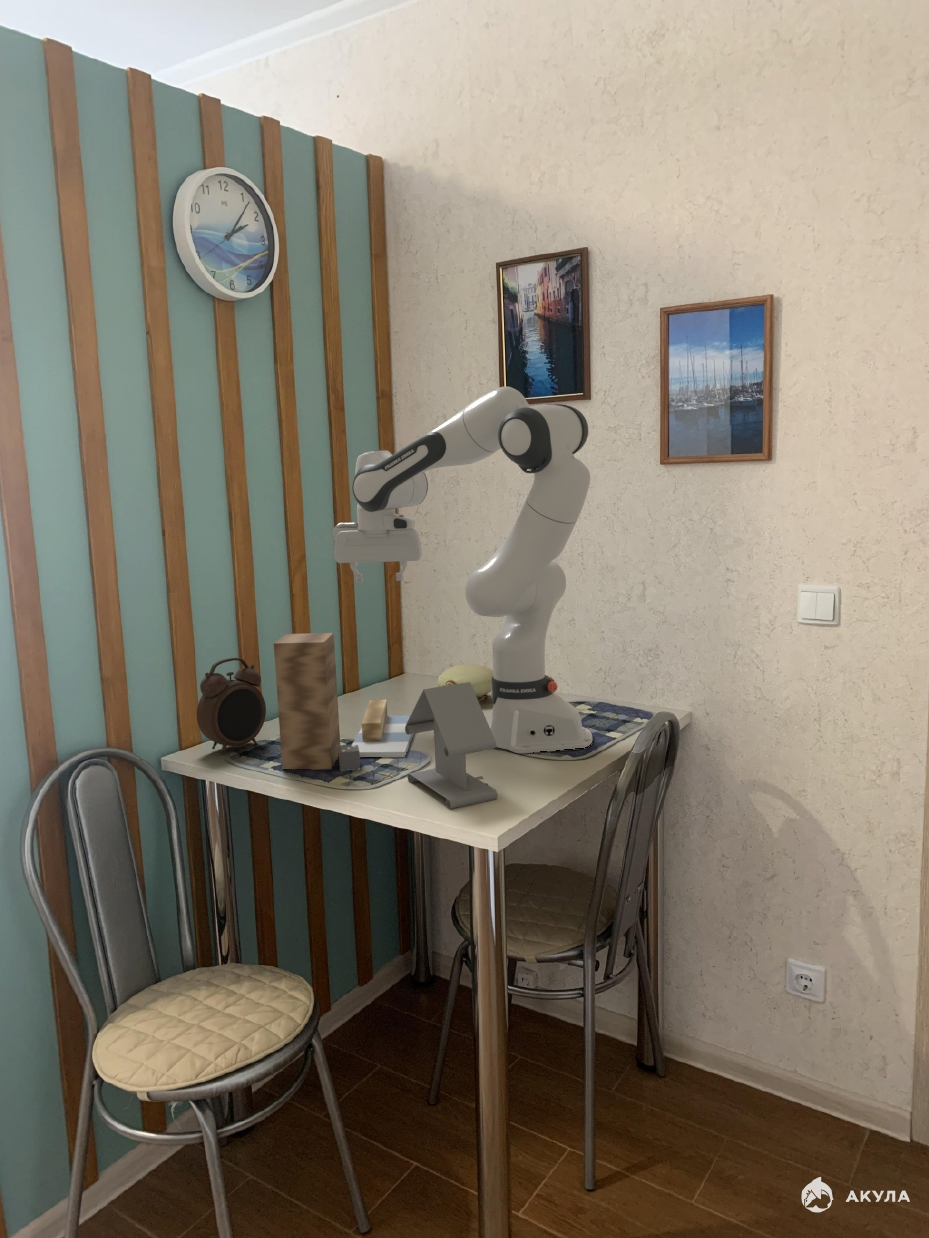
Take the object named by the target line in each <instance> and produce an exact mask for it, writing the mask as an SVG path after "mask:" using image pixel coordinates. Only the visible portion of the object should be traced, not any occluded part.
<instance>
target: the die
mask: <svg viewBox="0 0 929 1238" xmlns="http://www.w3.org/2000/svg"><path fill="white" fill-rule="evenodd" d="M338 753H339V758H338V765H339V766H340V767H339V771H340V770H347V769H358V768H360V769H361V758H360V753H359V747H358V745H353V746H351V745H344V746H342V745H341V746H340V747H338Z"/></svg>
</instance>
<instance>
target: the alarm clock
mask: <svg viewBox="0 0 929 1238" xmlns="http://www.w3.org/2000/svg"><path fill="white" fill-rule="evenodd" d="M233 661H234V662H235V661H238V662H241V664H242V665H243V667H242V668H240V669H238V670H237V672H235V673H234V671H229V672H227V673H226V676H227V677H229V678H226V677H225V676H224V675H223V674H221V673H220V672H215V671H216V668H217V667H218V666H220V665H222V664H224V663H227V662H228V663H229V662H233ZM204 676H205V677H203V679H201V682H200V683H199V689H200V692H201V694H202V695H201V697H200V699H199V701H198V704H197V707H196V719H197V720H196V722H197V725H198V728H199V730H200V732H201V733H202V735H204V737H205V738H207V739H208V740H210V741H212V742H213V744H212V745H213V746H212V748H211V749H212V750H215V749H216V747H217V745H220V746H221V750H220V752H219V754H220V755H223V754H224V752H225V750H226V748H227V747H242V746H245V745H247V744H248V743H250V742H253V743H254V745H255V744H257V745H258V744H259V743H258V742H257V741H256V737H257V736H258V735H259V733H260V732H261V730H262V729H263V726H264V723H265V720H266V715H267V714H266V713H267V707H266V701H265V698H264V695H263V693H262V692H261V691H260V690H259V689H258V688H260V687H261V681H262V677H261V674H260V673H259V672H258V671H257V670H255V664H251V665H248V663H247V662H246V660H244V659H243V658H241V657H229V658H224V659H221V660H220V659H219V660H218V661H216V662H214V663H213V664H212V665H211V668H210V671H209V672H205V673H204ZM232 676H233V679H232Z"/></svg>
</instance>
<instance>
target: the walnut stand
mask: <svg viewBox="0 0 929 1238" xmlns="http://www.w3.org/2000/svg"><path fill="white" fill-rule="evenodd" d="M273 651H274V667H275V668H274V669H275V681H276V696H277V710H278V723H279V724H278V725H279V726H278V727H279V740H280V753H281V767H282V770H283V769H292V770H291V771H293V769H294V770H295V769H311V770H327V769H326V768H332V766H333V764H334V763H335V761H336V760H337V761H338V759H339V758H338V757H339V753H338V747H341V733H340V732H341V731H340V717H339V701H338V685H337V684H338V683H337V667H336V666H337V664H336V651H335V634H334V632H323V633H322V632H315V633H312V632H311V633H285V634H284V635H282V636H281V637H280V638H279V639H277V640H276V641H274V643H273ZM337 758H338V759H337ZM337 761H336V762H337ZM335 764H336V763H335ZM335 764H334V765H335ZM333 767H334V766H333ZM323 768H324V769H323ZM332 769H333V768H332Z"/></svg>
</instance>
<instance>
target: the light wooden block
mask: <svg viewBox="0 0 929 1238" xmlns="http://www.w3.org/2000/svg"><path fill="white" fill-rule="evenodd" d="M387 716H388V701H387V699H369V702H368V703H367V708H366V710H365V712H364V717H363V719H362V722H361V728H362V739H363V742H365V741H381V740H382V736H383V732H384V728H385V724H386V720H387Z"/></svg>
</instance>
